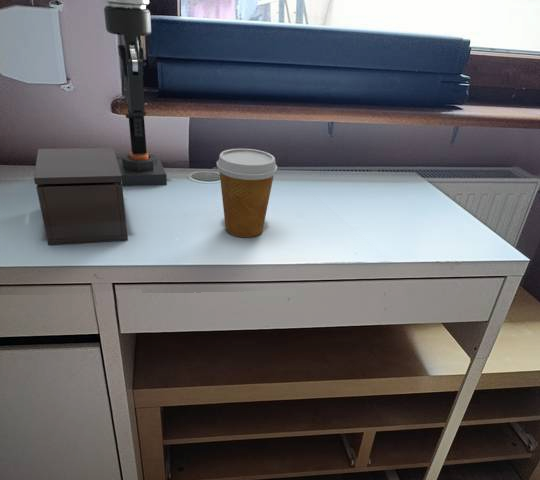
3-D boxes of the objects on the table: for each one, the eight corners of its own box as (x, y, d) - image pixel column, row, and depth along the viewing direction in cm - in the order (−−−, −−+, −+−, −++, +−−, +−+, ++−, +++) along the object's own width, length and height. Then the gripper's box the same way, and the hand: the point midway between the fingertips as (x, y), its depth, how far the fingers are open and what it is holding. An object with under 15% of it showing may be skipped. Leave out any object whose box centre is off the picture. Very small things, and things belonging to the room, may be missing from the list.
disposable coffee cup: (260, 216, 90) (265, 146, 83) (280, 239, 83) (287, 165, 76) (209, 220, 87) (209, 148, 80) (225, 244, 80) (226, 167, 73)
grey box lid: (122, 182, 72) (121, 175, 72) (34, 184, 69) (33, 177, 69) (114, 153, 84) (113, 147, 83) (39, 154, 81) (38, 148, 80)
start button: (129, 160, 100) (128, 151, 99) (147, 160, 101) (147, 151, 100) (131, 166, 98) (130, 156, 97) (149, 165, 99) (149, 156, 98)
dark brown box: (128, 240, 79) (122, 184, 73) (48, 245, 75) (36, 186, 70) (120, 205, 89) (114, 153, 84) (50, 208, 86) (39, 154, 81)
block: (115, 169, 104) (113, 149, 101) (159, 168, 106) (158, 149, 104) (119, 186, 96) (117, 165, 94) (167, 185, 99) (166, 164, 97)
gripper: (154, 10, 80) (163, 162, 95) (145, 4, 90) (154, 143, 104) (105, 7, 78) (122, 163, 93) (101, 1, 88) (116, 143, 102)
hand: (139, 152), depth 98 cm, fingers closed
